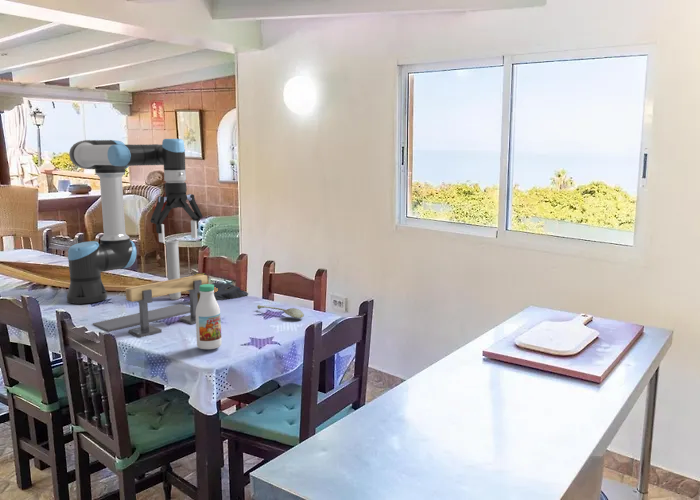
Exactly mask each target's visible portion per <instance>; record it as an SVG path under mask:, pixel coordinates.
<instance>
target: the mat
mask: <svg viewBox="0 0 700 500" xmlns="http://www.w3.org/2000/svg"><path fill="white" fill-rule="evenodd" d="M187 314H190V305H184V304H182V303H179V304H178V303H177V304H174V305H169V306H164V307H160V308H155V309H152V310H151V309H150V310H148V320H149V323H153V322H157V321H161V320H166V319H170V318H173V317H177V316H178V317H180V316H182V315H187ZM92 325H93V327H97V328H99V329H101V330H104V331H106V332H108V333H111V332H115V331H119V330H120V331H121V330H124V329H128V328H132V327H136V326H140V312H138V313H133V314H128V315H125V316H120V317H115V318H110V319H107V320H101V321H96V322H92Z"/></svg>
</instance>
